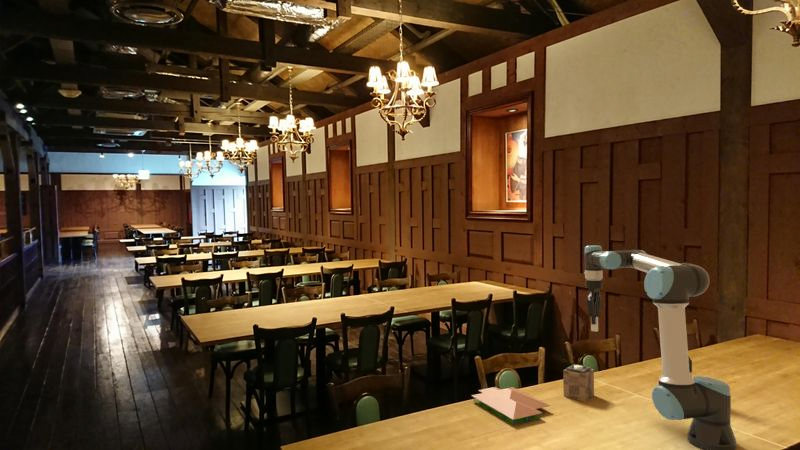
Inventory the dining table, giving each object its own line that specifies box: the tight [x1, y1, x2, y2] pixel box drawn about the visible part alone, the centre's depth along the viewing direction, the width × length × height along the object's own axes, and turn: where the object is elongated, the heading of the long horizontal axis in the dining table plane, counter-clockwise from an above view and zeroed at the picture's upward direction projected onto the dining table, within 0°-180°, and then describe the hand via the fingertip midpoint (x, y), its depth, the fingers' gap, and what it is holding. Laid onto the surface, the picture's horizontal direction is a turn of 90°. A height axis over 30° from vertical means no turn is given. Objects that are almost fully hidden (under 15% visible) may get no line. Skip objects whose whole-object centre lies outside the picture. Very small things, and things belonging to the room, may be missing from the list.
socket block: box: [562, 363, 595, 402], centre depth 233 cm, size 10×10×13 cm
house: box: [471, 386, 551, 426], centre depth 221 cm, size 23×33×8 cm
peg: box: [574, 364, 584, 370], centre depth 233 cm, size 4×4×12 cm
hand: (594, 330), depth 232 cm, fingers closed
